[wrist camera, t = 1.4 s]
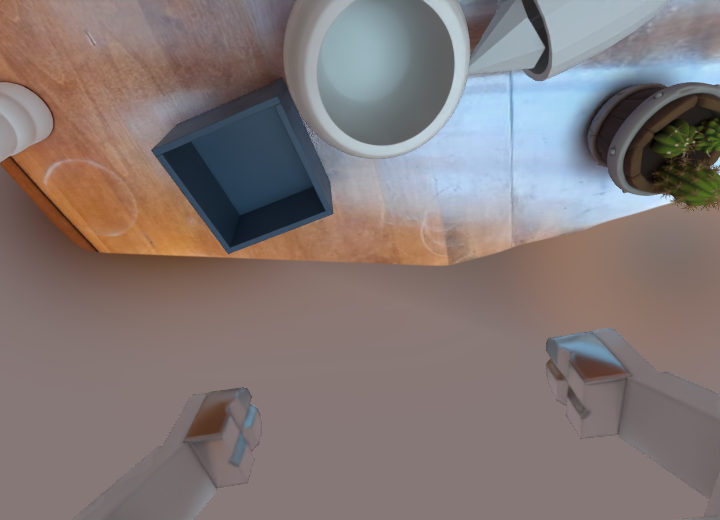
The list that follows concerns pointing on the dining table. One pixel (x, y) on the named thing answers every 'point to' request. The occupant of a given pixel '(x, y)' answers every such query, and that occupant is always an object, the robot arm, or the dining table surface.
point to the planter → (376, 71)
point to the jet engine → (555, 33)
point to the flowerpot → (661, 141)
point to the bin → (248, 168)
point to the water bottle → (21, 119)
